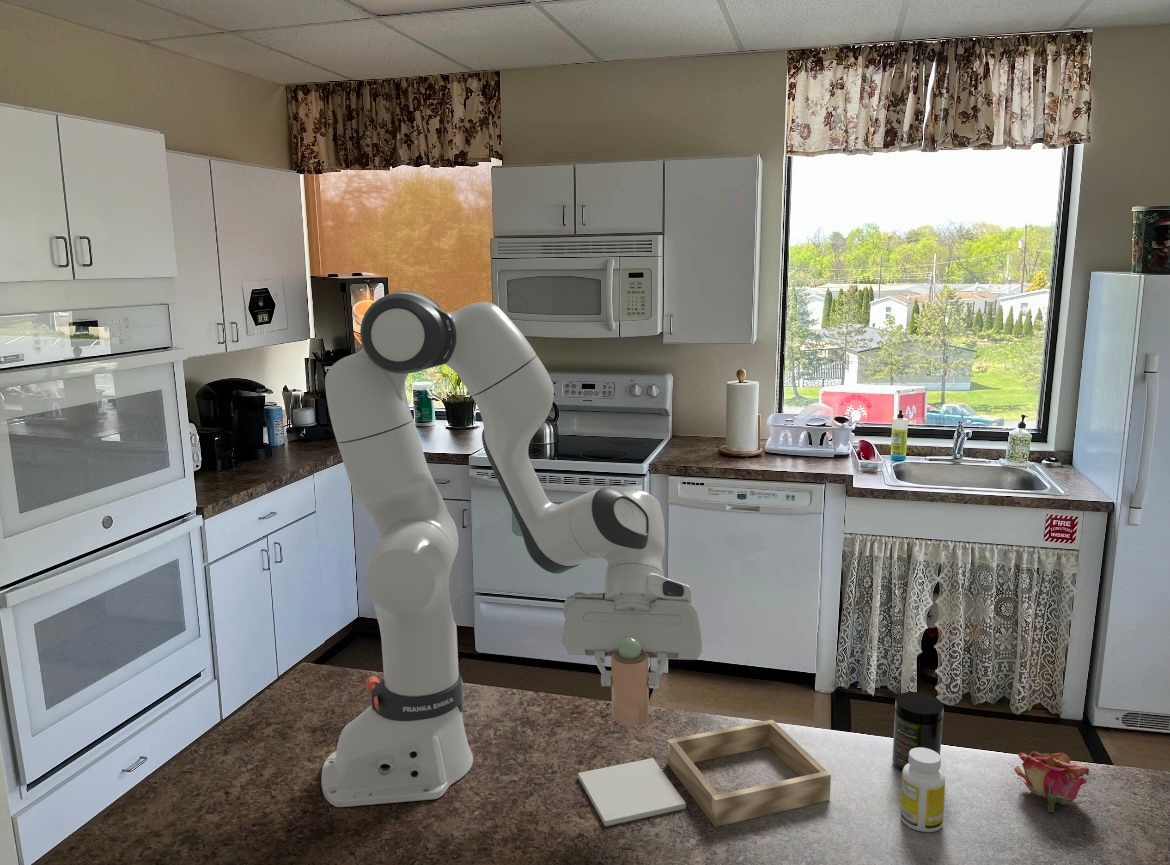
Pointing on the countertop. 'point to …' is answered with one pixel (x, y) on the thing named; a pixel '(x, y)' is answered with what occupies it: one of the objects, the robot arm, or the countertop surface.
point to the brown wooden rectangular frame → (755, 799)
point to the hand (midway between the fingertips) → (629, 686)
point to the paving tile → (630, 791)
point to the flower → (1052, 777)
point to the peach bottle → (630, 683)
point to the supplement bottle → (923, 791)
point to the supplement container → (916, 725)
